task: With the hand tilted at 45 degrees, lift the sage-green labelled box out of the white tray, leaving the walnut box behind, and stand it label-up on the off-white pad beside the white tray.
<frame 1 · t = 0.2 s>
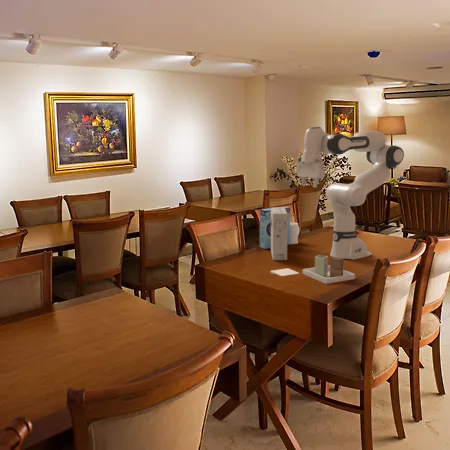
hand: (309, 186, 255), 39 cm above the table, tool pointing down, fingers open, 8 cm apart
pad: (284, 274, 240), on the table
white tray: (328, 277, 232), on the table
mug: (293, 242, 308), on the table
light blue carton: (274, 246, 298), on the table
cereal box: (278, 255, 276), on the table
walnut box: (336, 277, 230), point 1 cm above the table, touching white tray
sage box: (321, 275, 234), point 1 cm above the table, touching white tray
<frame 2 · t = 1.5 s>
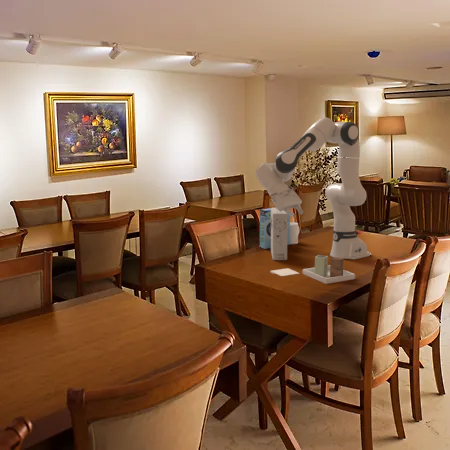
hand: (297, 214, 236), 28 cm above the table, tool tilted 45°, fingers open, 8 cm apart
nothing on the table moved.
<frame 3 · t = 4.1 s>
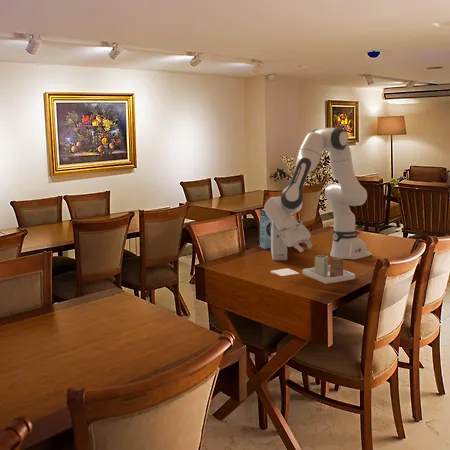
hand: (306, 249, 236), 12 cm above the table, tool tilted 45°, fingers open, 8 cm apart
nothing on the table moved.
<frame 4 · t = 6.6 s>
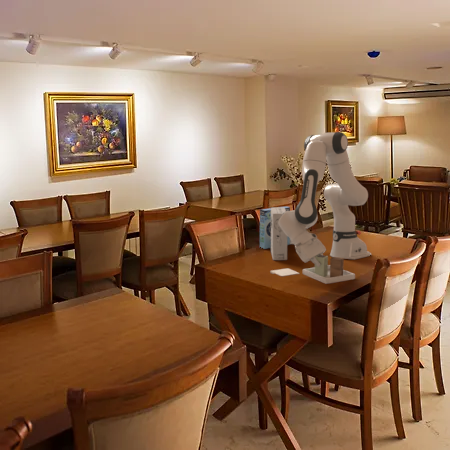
hand: (322, 264, 232), 6 cm above the table, tool tilted 45°, fingers closed on sage box, 4 cm apart
sage box: (321, 275, 234), point 1 cm above the table, touching white tray, gripper
everything else where it was.
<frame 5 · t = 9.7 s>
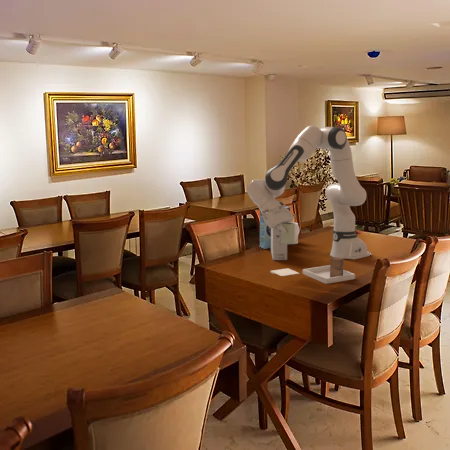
hand: (289, 231, 235), 21 cm above the table, tool tilted 45°, fingers closed on sage box, 4 cm apart
sage box: (287, 242, 236), point 16 cm above the table, touching gripper
everything else where it was.
when the fingers open (8 cm above the table, at t = 12.7 s): sage box drops 1 cm, resting on pad.
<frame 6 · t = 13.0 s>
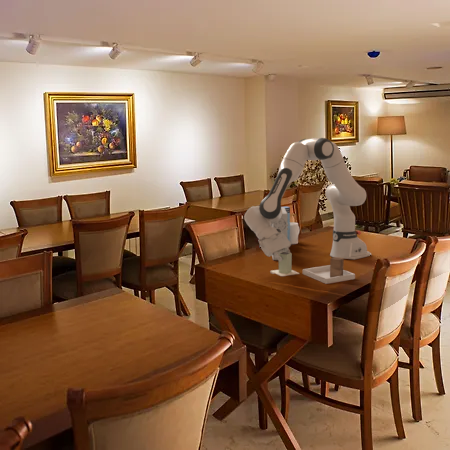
hand: (286, 258, 238), 8 cm above the table, tool tilted 45°, fingers open, 7 cm apart
sage box: (285, 271, 239), point 1 cm above the table, touching pad
everything else where it was.
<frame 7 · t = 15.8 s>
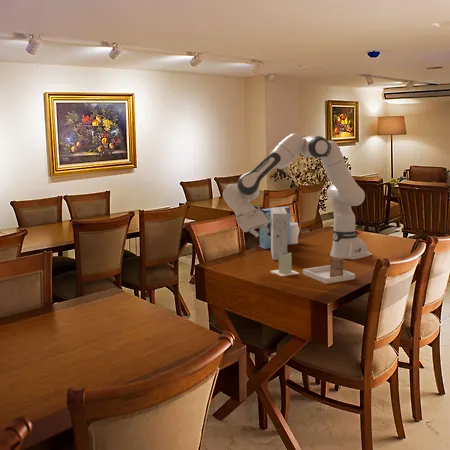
hand: (263, 234, 243), 18 cm above the table, tool tilted 45°, fingers open, 8 cm apart
nothing on the table moved.
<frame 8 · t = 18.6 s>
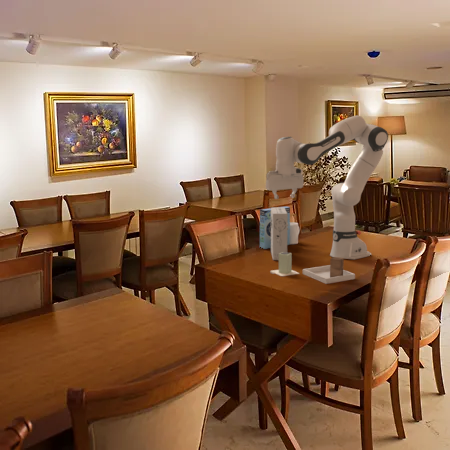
hand: (284, 198, 250), 34 cm above the table, tool pointing down, fingers open, 8 cm apart
nothing on the table moved.
at the end: sage box inside the target area on the pad (0.1 cm from its centre), point 1.0 cm above the pad's base; sage box tilted 0°; walnut box moved 0.0 cm from its start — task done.
